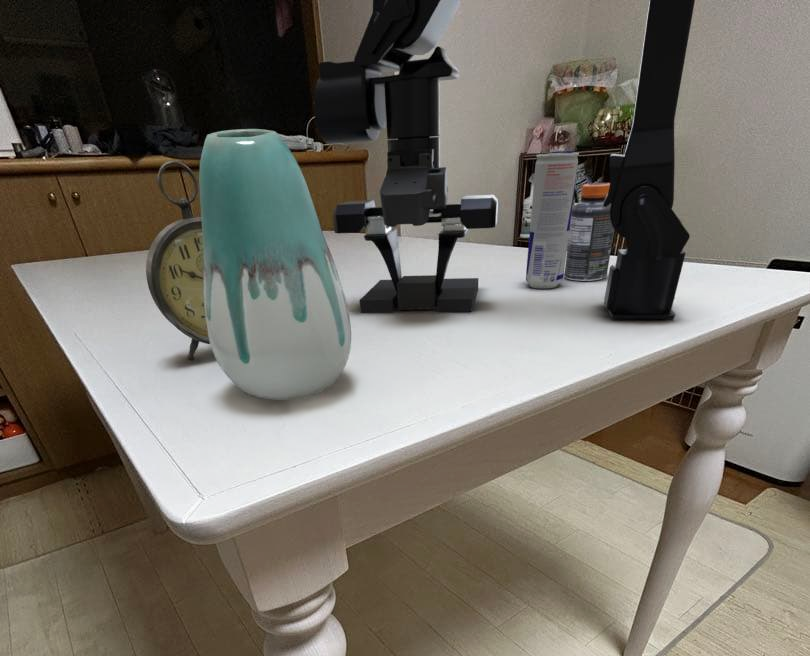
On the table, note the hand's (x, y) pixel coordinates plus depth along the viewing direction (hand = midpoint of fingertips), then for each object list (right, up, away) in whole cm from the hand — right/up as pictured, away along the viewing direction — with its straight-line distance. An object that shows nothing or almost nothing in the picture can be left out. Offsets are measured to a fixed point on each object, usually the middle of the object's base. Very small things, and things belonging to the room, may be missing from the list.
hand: (418, 294), depth 65 cm
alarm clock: (-21, -11, -10) cm, 25 cm away
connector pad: (0, -1, +1) cm, 1 cm away
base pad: (+1, +1, +3) cm, 3 cm away
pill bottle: (+25, +7, +10) cm, 27 cm away
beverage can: (+18, +4, +7) cm, 20 cm away
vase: (-12, -18, -19) cm, 29 cm away
